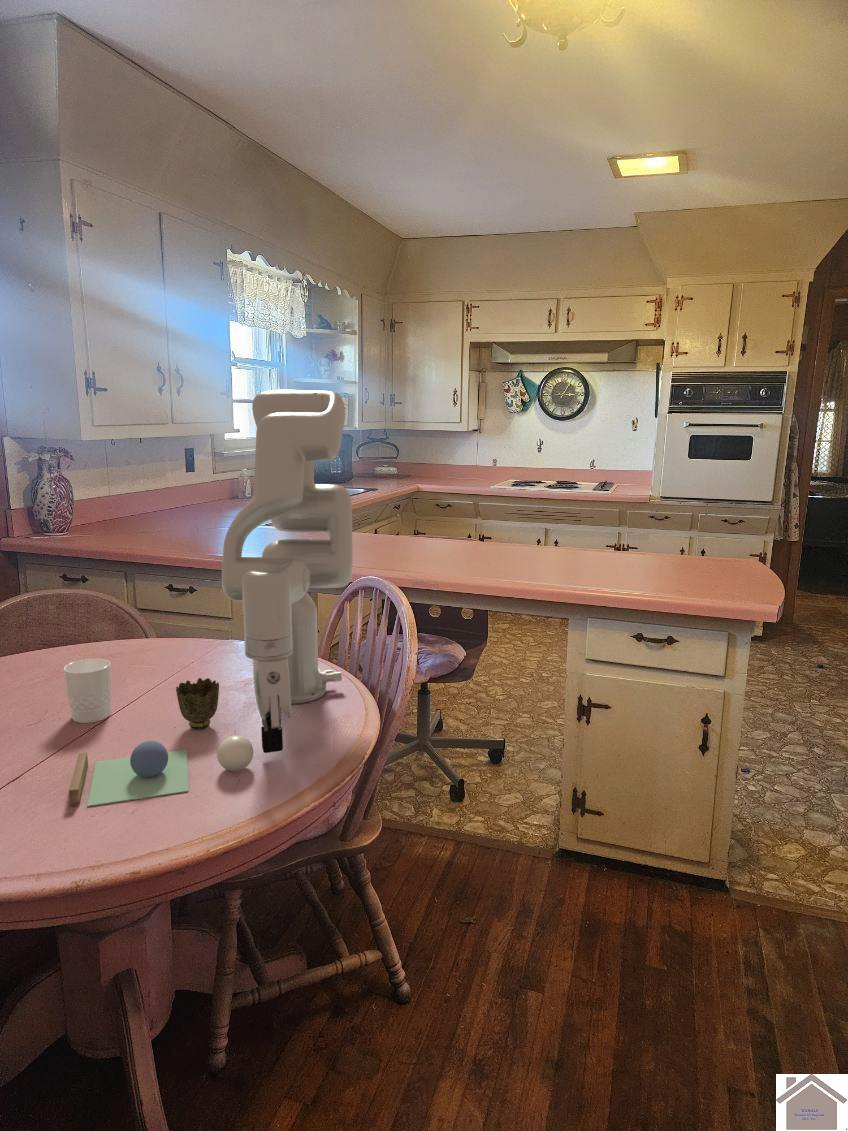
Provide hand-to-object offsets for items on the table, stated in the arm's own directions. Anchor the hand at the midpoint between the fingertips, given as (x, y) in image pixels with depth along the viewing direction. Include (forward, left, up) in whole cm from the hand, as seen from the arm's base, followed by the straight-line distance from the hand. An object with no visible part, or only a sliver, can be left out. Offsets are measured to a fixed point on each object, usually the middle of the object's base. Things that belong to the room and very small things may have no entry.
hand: (272, 749), depth 120 cm
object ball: (+19, 0, +1) cm, 19 cm away
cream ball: (+6, +2, +1) cm, 7 cm away
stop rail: (+29, 0, -2) cm, 29 cm away
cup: (+11, -16, -2) cm, 19 cm away
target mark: (+20, 0, -2) cm, 21 cm away
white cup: (+30, -27, -2) cm, 40 cm away
